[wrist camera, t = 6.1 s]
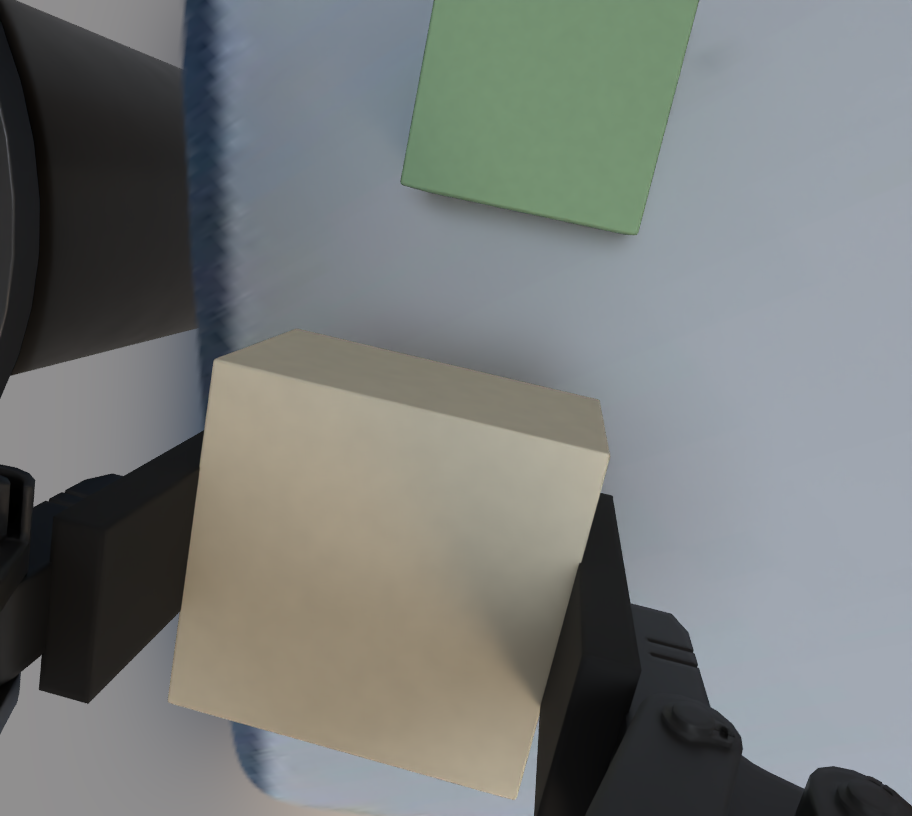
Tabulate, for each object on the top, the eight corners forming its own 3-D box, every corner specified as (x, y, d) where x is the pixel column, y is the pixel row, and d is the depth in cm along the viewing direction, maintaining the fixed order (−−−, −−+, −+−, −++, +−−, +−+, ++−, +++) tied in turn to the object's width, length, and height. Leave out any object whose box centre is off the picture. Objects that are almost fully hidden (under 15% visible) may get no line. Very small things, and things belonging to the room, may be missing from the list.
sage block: (426, 191, 25) (399, 184, 21) (469, -29, 23) (448, -81, 20) (627, 235, 24) (637, 235, 20) (685, 11, 23) (708, -34, 19)
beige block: (251, 601, 18) (165, 703, 14) (295, 327, 16) (212, 358, 13) (527, 675, 17) (516, 802, 14) (600, 399, 16) (611, 454, 12)
